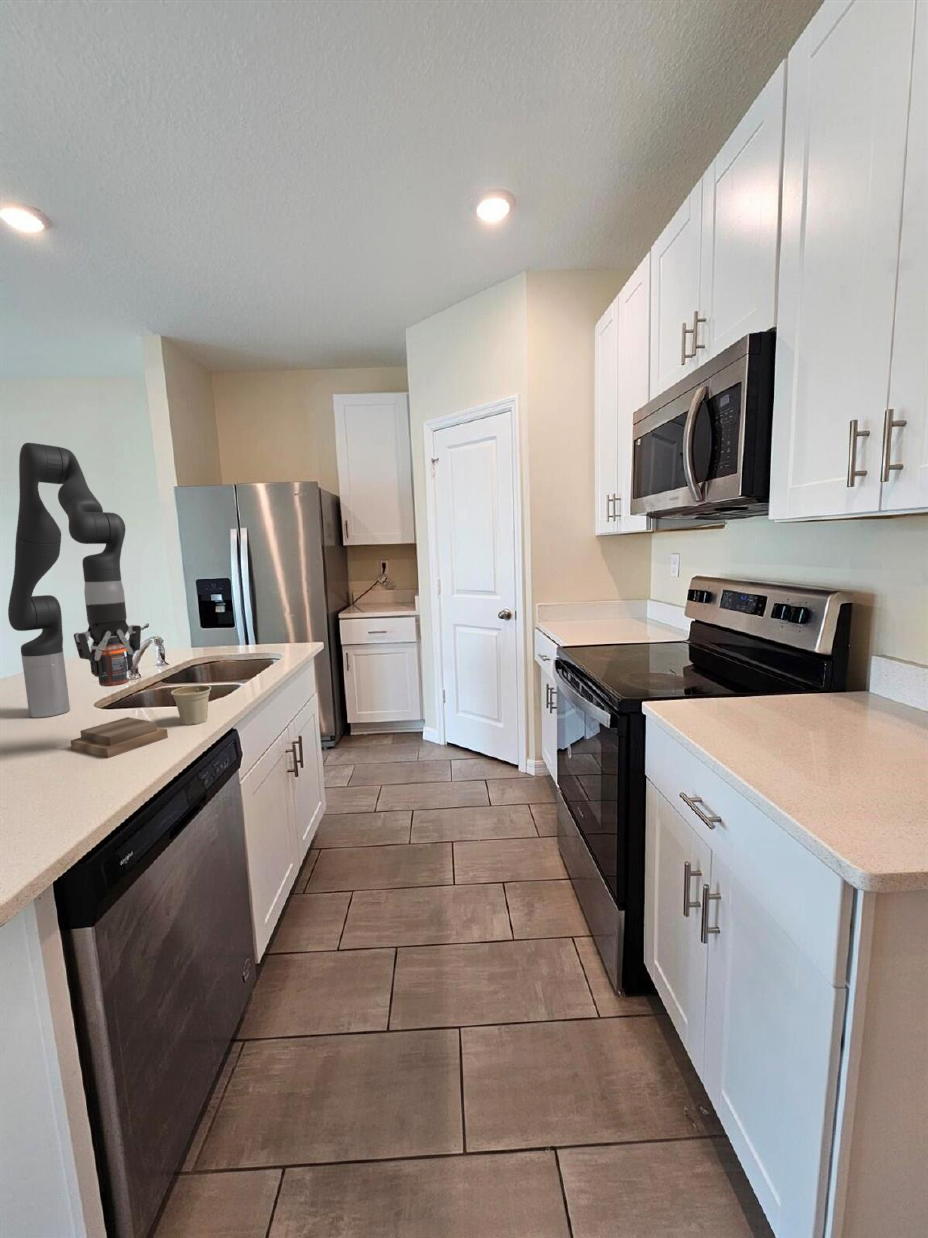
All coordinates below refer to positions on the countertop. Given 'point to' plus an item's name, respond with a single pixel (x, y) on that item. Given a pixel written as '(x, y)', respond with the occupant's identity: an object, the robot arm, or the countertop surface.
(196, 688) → the flower pot
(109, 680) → the supplement bottle
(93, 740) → the base
